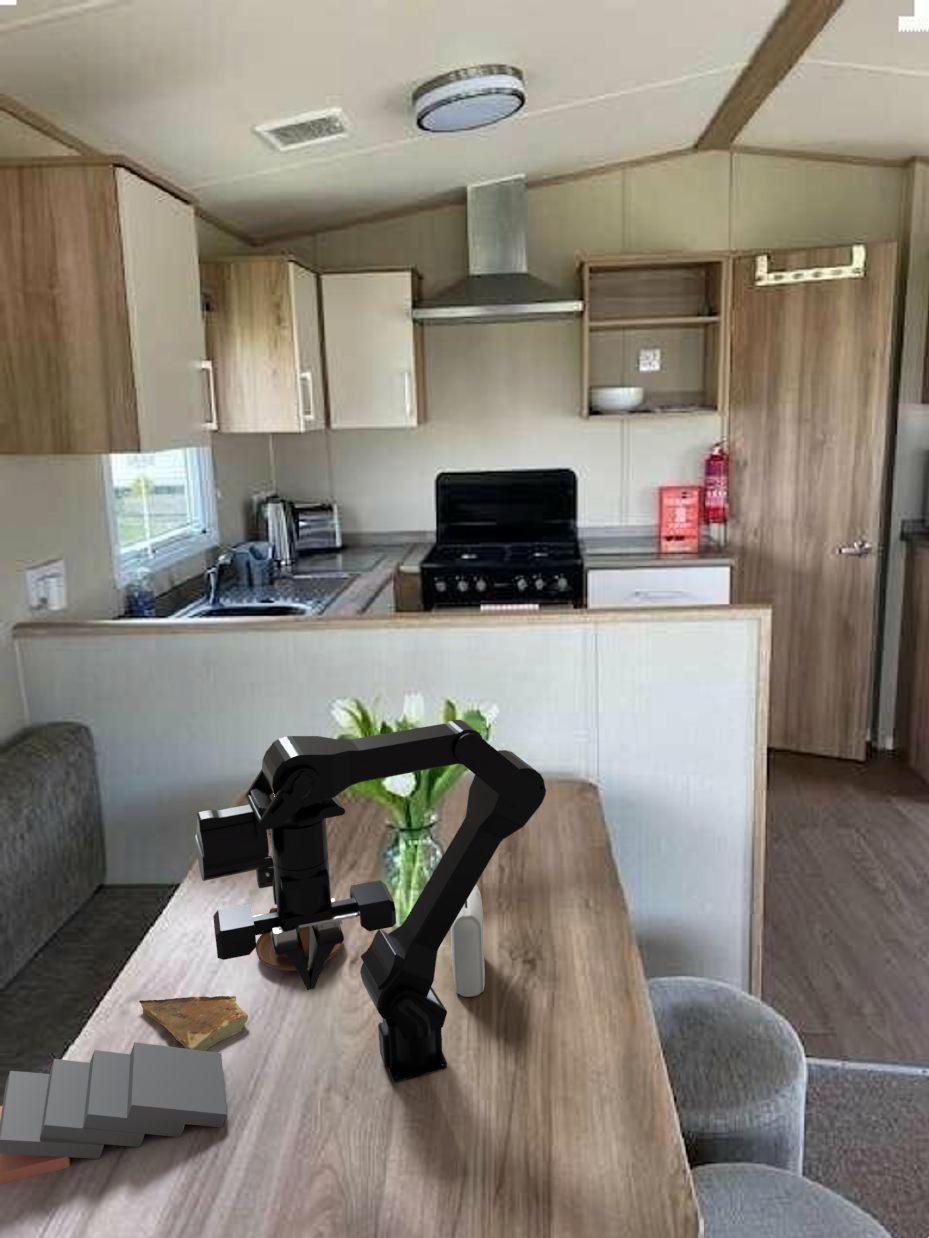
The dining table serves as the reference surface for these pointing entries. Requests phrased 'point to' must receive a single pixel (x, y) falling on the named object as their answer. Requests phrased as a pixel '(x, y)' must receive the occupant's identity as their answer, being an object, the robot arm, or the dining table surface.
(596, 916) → the dining table surface
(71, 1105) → the domino
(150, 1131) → the domino
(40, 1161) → the domino
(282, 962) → the cup and saucer
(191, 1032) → the shard
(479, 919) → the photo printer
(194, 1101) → the domino
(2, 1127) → the domino
